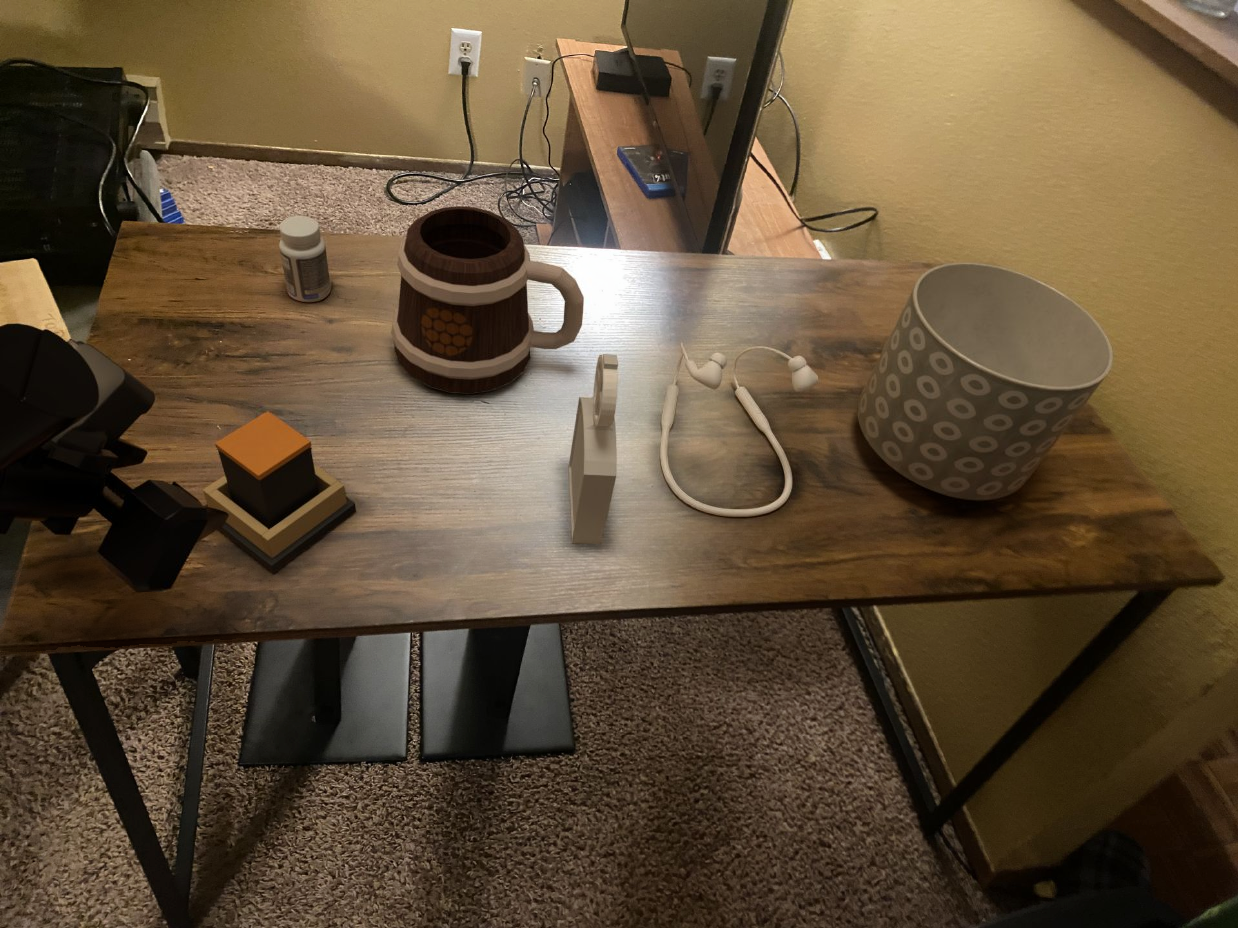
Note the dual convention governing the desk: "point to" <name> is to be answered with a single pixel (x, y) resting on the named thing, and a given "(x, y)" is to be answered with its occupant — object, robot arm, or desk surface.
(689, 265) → the desk surface
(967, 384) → the planter
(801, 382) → the earphone
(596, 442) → the gravestone
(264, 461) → the orange rectangular block
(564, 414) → the desk surface
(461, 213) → the mug
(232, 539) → the base pad
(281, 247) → the pill bottle
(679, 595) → the desk surface
